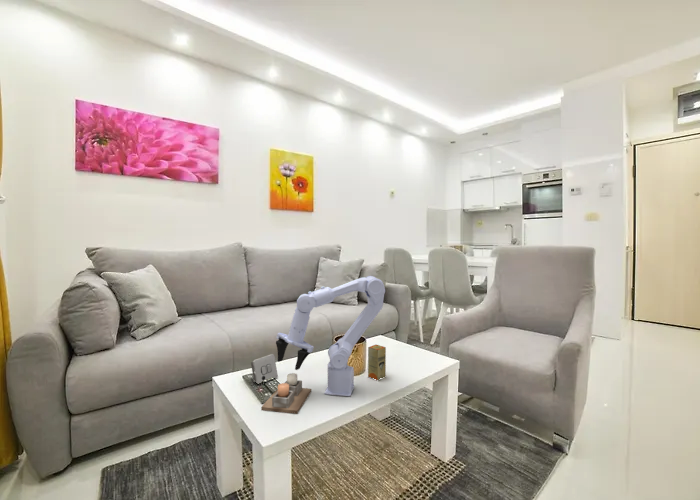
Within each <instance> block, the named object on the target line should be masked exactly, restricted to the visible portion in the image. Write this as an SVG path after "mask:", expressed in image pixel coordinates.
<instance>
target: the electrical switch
mask: <svg viewBox="0 0 700 500" xmlns="http://www.w3.org/2000/svg"><path fill="white" fill-rule="evenodd" d="M250 365H251V372H252V378H253V381H254V380H255V381H256V383H258V384H259V383H261V382H262V381H264V380H266V379H269V378H271V377H273V378H275V379H274V380H276V379H277V378H278V377H279V376H278V370H277V363H276V357H275V354H273V353H271V354H268V355H265V356H262V357H259V358H256V359H253V361H251V362H250ZM256 383H255V384H256Z"/></svg>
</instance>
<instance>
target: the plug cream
mask: <svg viewBox="0 0 700 500" xmlns="http://www.w3.org/2000/svg"><path fill="white" fill-rule="evenodd" d="M297 380H298V374H297V373H293V372H292V373H289V374H287V376H286V381H287V384H289V386H295V385H297Z"/></svg>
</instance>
